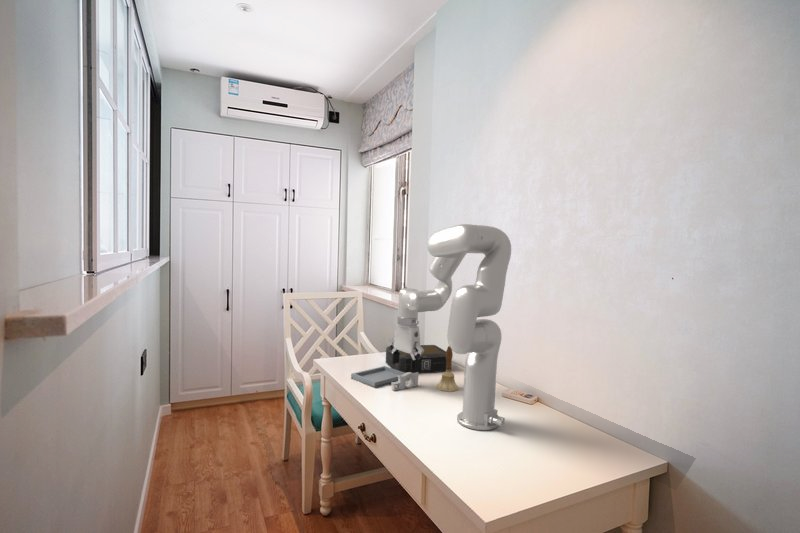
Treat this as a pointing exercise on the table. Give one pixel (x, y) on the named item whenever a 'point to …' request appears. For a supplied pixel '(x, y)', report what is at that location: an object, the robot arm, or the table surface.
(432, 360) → the cash box
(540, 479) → the table surface
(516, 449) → the table surface
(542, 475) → the table surface
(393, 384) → the white toothed rack
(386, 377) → the tray
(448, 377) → the hand bell
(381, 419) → the table surface
